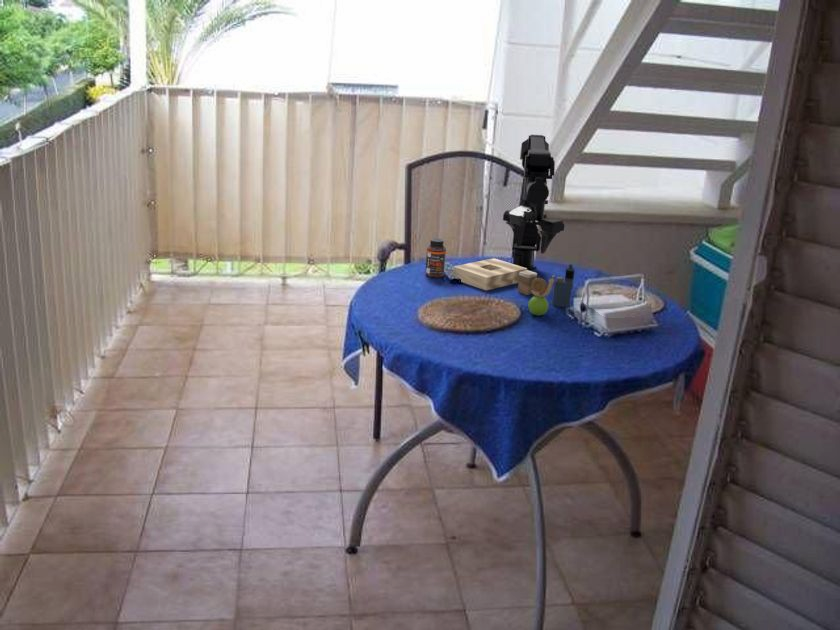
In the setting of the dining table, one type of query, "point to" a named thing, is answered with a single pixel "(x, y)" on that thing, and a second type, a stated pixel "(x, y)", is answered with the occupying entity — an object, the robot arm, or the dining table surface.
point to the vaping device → (563, 288)
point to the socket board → (488, 273)
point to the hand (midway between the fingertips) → (530, 249)
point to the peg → (526, 282)
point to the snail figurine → (540, 296)
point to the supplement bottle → (435, 258)
